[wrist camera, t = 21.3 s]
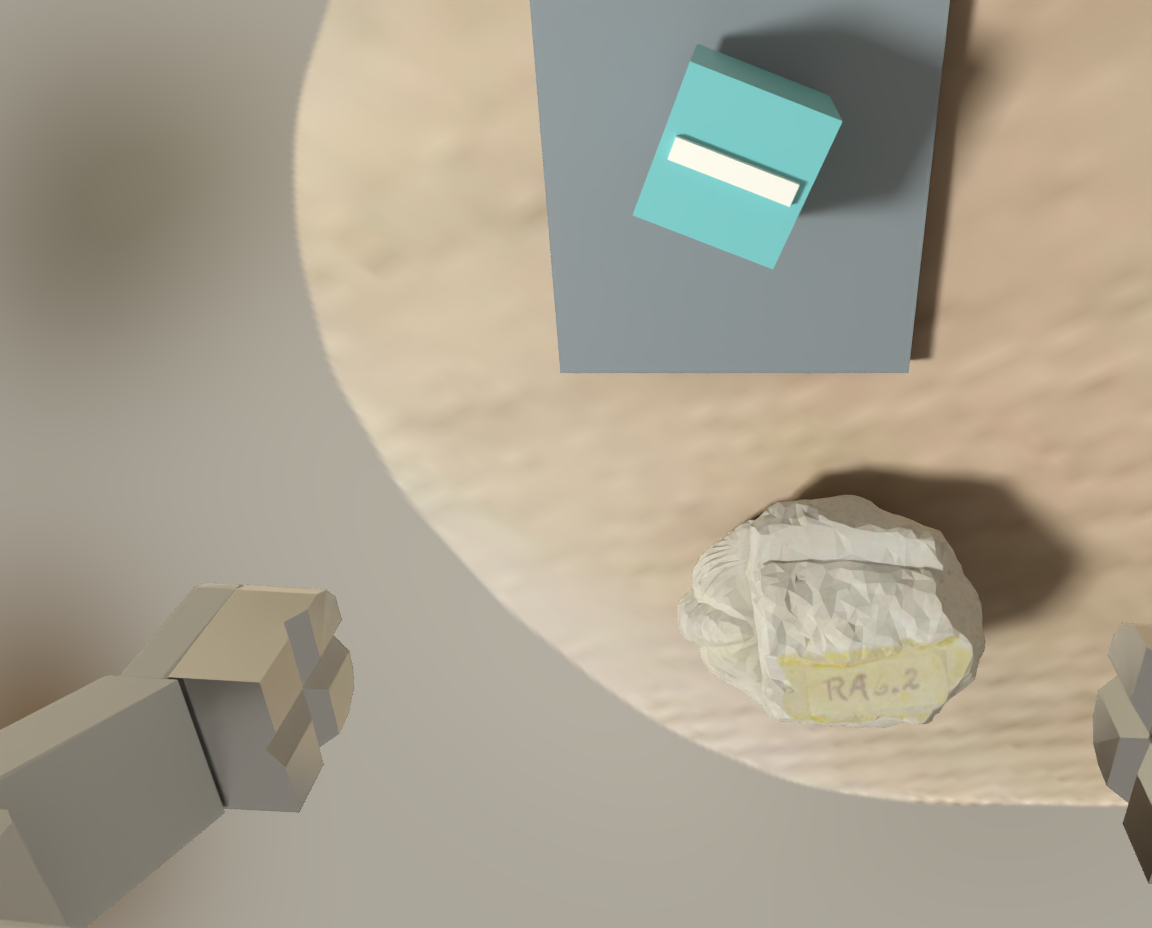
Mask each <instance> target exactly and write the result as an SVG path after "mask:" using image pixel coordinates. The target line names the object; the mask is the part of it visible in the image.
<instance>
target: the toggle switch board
mask: <svg viewBox="0 0 1152 928" xmlns="http://www.w3.org/2000/svg"><path fill="white" fill-rule="evenodd" d="M949 4H950V0H530V9H531V21H532V34H533V46H534V58H535V70H536V82H537V94H538V106H539V118H540V130H541V142H542V155H543V167H544V179H545V191H546V203H547V215H548V227H549V239H550V251H551V263H552V276H553V288H554V300H555V312H556V324H557V336H558V348H559V360H560V372H561V373H909V364H910V355H911V346H912V337H913V328H914V319H915V310H916V301H917V292H918V283H919V274H920V265H921V256H922V247H923V238H924V229H925V220H926V211H927V202H928V193H929V184H930V175H931V166H932V157H933V148H934V139H935V130H936V121H937V112H938V103H939V94H940V85H941V76H942V67H943V58H944V49H945V40H946V31H947V22H948V13H949ZM697 44H700V45H702V46H705V47H708V48H710V49H713V50H715V51H718V52H720V53H723V54H725V55H728V56H730V57H733V58H736V59H738V60H741V61H743V62H746V63H748V64H751V65H753V66H756V67H758V68H761V69H764V70H766V71H769V72H771V73H774V74H776V75H779V76H781V77H784V78H786V79H789V80H791V81H794V82H797V83H799V84H802V85H804V86H807V87H809V88H812V89H814V90H817V91H819V92H822V93H825V94H827V95H829V96H830V97H831V99H832V101H833V103H834V105H835V107H836V109H837V111H838V113H839V115H840V117H841V119H842V121H843V122H842V124H841V126H840V128H839V130H838V132H837V134H836V136H835V139H834V141H833V143H832V145H831V147H830V149H829V151H828V153H827V156H826V158H825V160H824V162H823V164H822V166H821V168H820V171H819V173H818V175H817V177H816V179H815V181H814V183H813V185H812V188H811V190H810V192H809V194H808V196H807V198H806V200H805V202H804V205H803V207H802V209H801V211H800V213H799V215H798V217H797V219H796V222H795V224H794V226H793V228H792V230H791V232H790V234H789V237H788V239H787V241H786V243H785V245H784V247H783V249H782V251H781V254H780V256H779V258H778V260H777V262H776V264H775V266H774V268H773V269H770V268H768V267H765V266H763V265H760V264H758V263H755V262H752V261H750V260H747V259H745V258H742V257H739V256H737V255H734V254H732V253H729V252H726V251H724V250H721V249H719V248H716V247H713V246H711V245H708V244H706V243H703V242H701V241H698V240H695V239H693V238H690V237H688V236H685V235H682V234H680V233H677V232H675V231H672V230H669V229H667V228H664V227H662V226H659V225H656V224H654V223H651V222H649V221H646V220H644V219H641V218H638V217H636V216H633V212H634V210H635V207H636V204H637V202H638V199H639V196H640V194H641V191H642V188H643V186H644V183H645V180H646V178H647V175H648V172H649V170H650V167H651V164H652V162H653V159H654V156H655V154H656V151H657V148H658V146H659V143H660V140H661V137H662V135H663V132H664V129H665V127H666V124H667V121H668V119H669V116H670V113H671V111H672V108H673V105H674V103H675V100H676V97H677V95H678V92H679V89H680V87H681V84H682V81H683V79H684V76H685V73H686V70H687V68H688V65H689V62H690V60H691V58H692V55H693V53H694V50H695V48H696V46H697Z"/></svg>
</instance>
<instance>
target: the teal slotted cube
mask: <svg viewBox="0 0 1152 928" xmlns="http://www.w3.org/2000/svg"><path fill="white" fill-rule="evenodd" d="M842 122H843V121H842V119H841V117H840V115H839V113H838V111H837V109H836V107H835V105H834V103H833V101H832V99H831V97H830V96H829V95H827V94H825V93H822V92H819V91H817V90H814V89H812V88H809V87H807V86H804V85H802V84H799V83H797V82H794V81H791V80H789V79H786V78H784V77H781V76H779V75H776V74H774V73H771V72H769V71H766V70H764V69H761V68H758V67H756V66H753V65H751V64H748V63H746V62H743V61H741V60H738V59H736V58H733V57H730V56H728V55H725V54H723V53H720V52H718V51H715V50H713V49H710V48H708V47H705V46H702V45H700V44H697V46H696V48H695V50H694V53H693V55H692V58H691V60H690V62H689V65H688V68H687V70H686V73H685V76H684V79H683V81H682V84H681V87H680V89H679V92H678V95H677V97H676V100H675V103H674V105H673V108H672V111H671V113H670V116H669V119H668V121H667V124H666V127H665V129H664V132H663V135H662V137H661V140H660V143H659V146H658V148H657V151H656V154H655V156H654V159H653V162H652V164H651V167H650V170H649V172H648V175H647V178H646V180H645V183H644V186H643V188H642V191H641V194H640V196H639V199H638V202H637V204H636V207H635V210H634V212H633V216H636V217H638V218H641V219H644V220H646V221H649V222H651V223H654V224H656V225H659V226H662V227H664V228H667V229H669V230H672V231H675V232H677V233H680V234H682V235H685V236H688V237H690V238H693V239H695V240H698V241H701V242H703V243H706V244H708V245H711V246H713V247H716V248H719V249H721V250H724V251H726V252H729V253H732V254H734V255H737V256H739V257H742V258H745V259H747V260H750V261H752V262H755V263H758V264H760V265H763V266H765V267H768V268H770V269H773V268H774V266H775V264H776V262H777V260H778V258H779V256H780V254H781V251H782V249H783V247H784V245H785V243H786V241H787V239H788V237H789V234H790V232H791V230H792V228H793V226H794V224H795V222H796V219H797V217H798V215H799V213H800V211H801V209H802V207H803V205H804V202H805V200H806V198H807V196H808V194H809V192H810V190H811V188H812V185H813V183H814V181H815V179H816V177H817V175H818V173H819V171H820V168H821V166H822V164H823V162H824V160H825V158H826V156H827V153H828V151H829V149H830V147H831V145H832V143H833V141H834V139H835V136H836V134H837V132H838V130H839V128H840V126H841V124H842Z"/></svg>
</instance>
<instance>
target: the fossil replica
mask: <svg viewBox="0 0 1152 928" xmlns="http://www.w3.org/2000/svg"><path fill="white" fill-rule="evenodd" d="M692 579H693V581H692V586H693V589H691V590H690V591H689V592H687V593H686V595H685V596H684V597H682V598H681V599H680V602H679V604H678V607H677V610H678V614H677V620H678V627H679V629H680V632H681V635H682V636H684V637H685V638H686V639H687V640H689V641H690V642H693V643H695V644H698V645H701V649H700V654H701V658H702V660H703V662H704V663H705V664H706V666H707V668H708V669H709V670H710V671H711V673H712V674H714V675H715V676H717V677H719V678H720V679H722V680H724V681H725V682H728V683H729V684H731V685H733V686H735V687H736V688H738V689H740V690H742V691H744V692H745V693H746V694H748V695H749V696H750V697H751V698H752V699H754V700H755V701H756V702H757V703H758V704H759V705H760V706H763V708H764V710H765V712H766V713H767V714H769V715H770V716H771V717H772V718H775V719H777V720H780V721H782V722H799V723H809V724H816V725H828V726H836V725H849V726H852V727H854V728H864V727H867V728H886V727H890V726H893V725H897V724H899V723H902V722H909V723H912V724H928V723H930V722H931V721H932V719H933V717H934V716H935V715H936V714H937V713H939V712H940V710H941V709H942V707H943V705H944V704H945V703H946V702H947V701H948V700H949V699H950V698H952V697H953V696H955V695H956V694H957V693H959V692H960V691H962V690H963V689H964V688H965V687H966V686H968V685H969V684H970V683H971V682H972V681H973V680H975V676H976V671H977V667H978V664H979V660H980V658H981V656H982V654H983V652H984V649H985V637H984V634H983V627H982V619H983V615H982V606H981V602H980V599H979V596H978V593H977V592H976V590H975V588H974V587H973V585H972V584H971V582H970V581H969V580H968V579H967V578H966V577H965V575H964V573H963V570H962V565H961V564H960V563H959V561H958V560H957V558H956V555H955V553H954V550H953V549H952V547H951V546H950V545H949V544H948V542H947V541H946V539H945V538H944V536H943V534H942V533H941V531H939V530H936V529H934V528H930V527H927V526H924V525H922V524H920V523H918V522H915V521H913V520H911V519H909V518H906V517H903V516H900V515H896V514H892V513H890V512H887V511H885V510H882V509H880V508H878V507H877V506H876V505H875V504H874V503H872V502H871V501H869V500H867V499H865V498H862V497H859V496H856V495H840V496H834V497H829V498H820V499H812V500H808V499H803V500H797V501H782V502H777V503H775V504H774V505H772V506H770V507H769V508H767V509H766V510H765V511H764V512H763V513H762V514H761V515H760V516H759V517H758V518H757V519H756V520H747V521H746V523H743V524H740V525H739V526H738V527H736V528H735V529H734V530H733V531H729V533H728V534H727V536H724V538H723V540H721V541H718V542H715V543H714V544H712V545H711V546H710V547H709V548H708V549H707V550H706V552H705V553H704V554H702V555H701V556H700V558H699V562H698V563H697V565H696V566H695V568H694V570H693V576H692Z"/></svg>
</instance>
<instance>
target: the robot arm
mask: <svg viewBox="0 0 1152 928" xmlns="http://www.w3.org/2000/svg"><path fill="white" fill-rule="evenodd" d="M341 620H342V618H341V614H340V611H339V607H338V604H337V600H336V597H335V596H334V595H333V594H332V593H330V592H329V591H327V590H321V589H306V588H290V587H275V586H260V585H245V586H244V585H237V584H219V583H218V584H217V583H205V584H202V585H199V586H196V587H194V588H193V589H192V591H191V592H190V593H189V594H188V595H187V596H186V598H185V599H184V600H183V601H182V602H181V604H180V605H179V606H178V607H177V608H176V609H175V611H174V612H173V613H172V614H171V615H170V617H169V618H168V619H167V620H166V621H165V622H164V624H163V625H162V626H161V627H160V628H159V630H158V631H157V632H156V633H155V634H154V635H153V637H152V638H151V639H150V640H149V641H148V643H147V644H146V645H145V646H144V647H143V648H142V650H141V651H140V652H139V653H138V654H137V656H136V657H135V658H134V659H133V660H132V661H131V663H130V664H129V665H128V666H127V667H126V669H125V670H124V671H123V672H122V673H121V674H120V676H109V675H106V676H104V677H102V678H100V679H98V680H96V681H94V682H92V683H90V684H89V685H87V686H85V687H83V688H81V689H79V690H77V691H75V692H73V693H71V694H69V695H67V696H65V697H63V698H61V699H59V700H57V701H56V702H54V703H52V704H50V705H48V706H46V707H44V708H42V709H40V710H38V711H36V712H34V713H32V714H30V715H28V716H26V717H25V718H23V719H21V720H19V721H17V722H15V723H13V724H11V725H9V726H7V727H5V728H3V729H1V730H0V928H86V927H87V926H88V925H90V924H91V923H92V922H93V921H94V920H96V919H97V918H98V917H99V916H100V915H102V914H103V913H104V912H105V911H107V910H108V909H109V908H110V907H111V906H113V905H114V904H115V903H116V902H117V901H118V900H120V899H121V898H122V897H123V896H125V895H126V894H127V893H128V892H129V891H131V890H132V889H133V888H134V887H135V886H137V885H138V884H139V883H140V882H142V881H143V880H144V879H145V878H146V877H148V876H149V875H150V874H151V873H152V872H154V871H155V870H156V869H157V868H158V867H160V866H161V865H162V864H163V863H165V862H166V861H167V860H168V859H170V858H171V857H172V856H173V855H174V854H175V853H177V852H178V851H179V850H180V849H182V848H183V847H184V846H185V845H186V844H187V843H189V842H190V841H191V840H192V839H194V838H195V837H196V836H197V835H198V834H200V833H201V832H202V831H203V830H205V829H206V828H207V827H208V826H209V825H211V824H212V823H213V822H214V821H215V820H217V819H218V818H219V817H220V816H221V815H223V814H224V812H225V811H224V809H242V810H261V811H280V812H298V813H299V812H300V810H301V808H302V806H303V804H304V802H305V800H306V798H307V796H308V794H309V792H310V791H311V789H312V786H313V785H314V783H315V781H316V779H317V777H318V775H319V773H320V771H321V769H322V767H323V765H324V763H323V760H322V756H321V752H320V748H319V747H321V746H322V745H324V744H325V743H326V742H328V741H329V740H331V739H332V738H333V737H335V736H336V735H338V734H339V733H340V731H341V729H342V727H343V725H344V723H345V721H346V718H347V716H348V714H349V710H350V705H351V700H352V695H353V690H354V676H353V665H352V660H351V656H350V651H349V650H348V649H347V648H346V647H345V646H344V645H343V644H342V643H341V642H340V641H339V640H338V639H337V638H336V637H335V636H334V633H335V631H336V629H337V628H338V626H339V624H340V622H341ZM1108 657H1109V659H1110V661H1111V663H1112V665H1113V667H1114V669H1115V671H1116V673H1117V676H1116V677H1115V678H1114V679H1112V680H1111V681H1110V682H1108V683H1107V684H1106V685H1105V686H1103V687H1102V688H1101V689H1099V690H1098V695H1097V700H1096V704H1095V709H1094V713H1093V744H1094V749H1095V753H1096V757H1097V762H1098V765H1099V768H1100V770H1101V773H1102V775H1103V778H1104V780H1105V783H1106V785H1107V786H1108V787H1109V788H1110V789H1111V790H1113V791H1114V792H1115V793H1117V794H1118V795H1119V796H1120V797H1122V798H1123V799H1124V800H1125V801H1127V802H1128V803H1129V804H1128V807H1127V810H1126V814H1125V817H1124V820H1123V826H1124V828H1125V830H1126V833H1127V835H1128V837H1129V839H1130V842H1131V844H1132V846H1133V849H1134V851H1135V853H1136V856H1137V858H1138V860H1139V863H1140V865H1141V867H1142V870H1143V872H1144V874H1145V877H1146V879H1147V881H1148V883H1149V884H1152V624H1134V623H1121V625H1120V626H1119V628H1118V629H1117V631H1116V632H1115V634H1114V635H1113V639H1112V642H1111V646H1110V649H1109V653H1108Z"/></svg>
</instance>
